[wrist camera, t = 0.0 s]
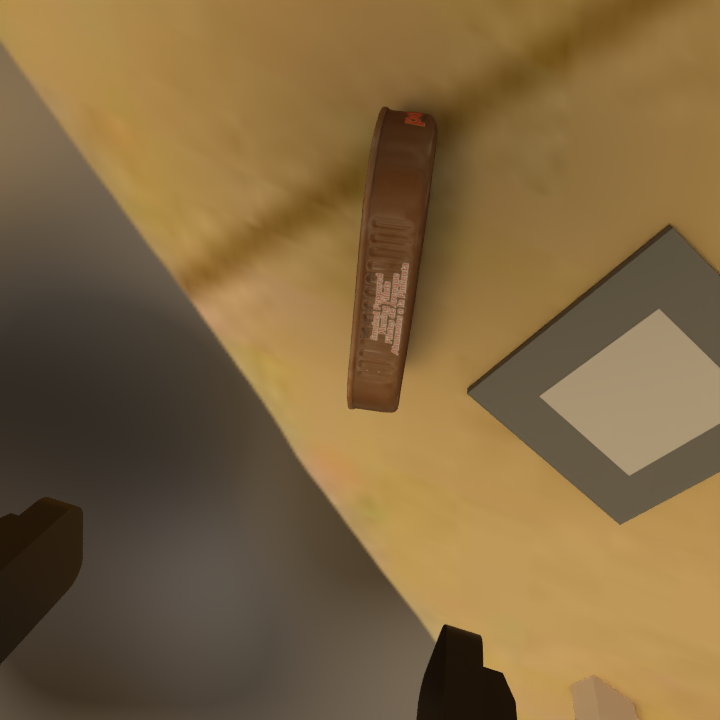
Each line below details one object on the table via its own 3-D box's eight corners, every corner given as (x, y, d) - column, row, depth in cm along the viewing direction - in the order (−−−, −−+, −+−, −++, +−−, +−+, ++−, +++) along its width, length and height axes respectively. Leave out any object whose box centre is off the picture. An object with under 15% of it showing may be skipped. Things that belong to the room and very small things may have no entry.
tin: (391, 99, 27) (353, 114, 19) (454, 107, 26) (439, 124, 19) (364, 359, 34) (330, 438, 27) (413, 368, 34) (391, 451, 27)
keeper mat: (669, 224, 27) (673, 228, 26) (839, 398, 29) (846, 405, 28) (467, 388, 34) (467, 394, 33) (618, 518, 36) (620, 525, 35)
